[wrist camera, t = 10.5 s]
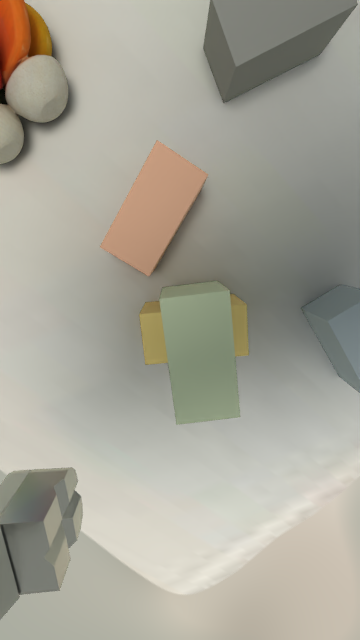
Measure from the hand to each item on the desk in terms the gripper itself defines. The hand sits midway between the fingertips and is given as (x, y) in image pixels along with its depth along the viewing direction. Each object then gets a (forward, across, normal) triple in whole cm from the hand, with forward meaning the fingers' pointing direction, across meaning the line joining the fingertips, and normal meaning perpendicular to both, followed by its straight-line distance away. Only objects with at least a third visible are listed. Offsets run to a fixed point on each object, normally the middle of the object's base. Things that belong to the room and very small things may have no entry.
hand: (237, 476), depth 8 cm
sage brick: (+13, 0, 0) cm, 13 cm away
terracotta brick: (+18, +2, -8) cm, 19 cm away
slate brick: (+18, -12, +2) cm, 21 cm away
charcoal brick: (+18, -6, -18) cm, 26 cm away
